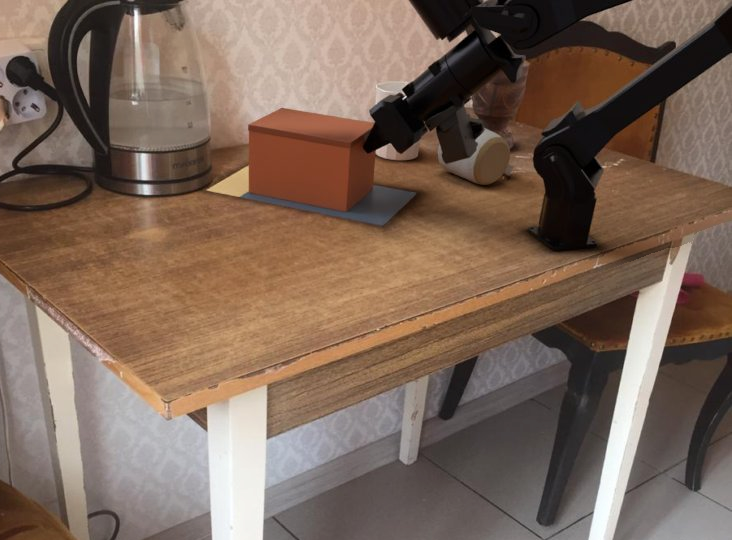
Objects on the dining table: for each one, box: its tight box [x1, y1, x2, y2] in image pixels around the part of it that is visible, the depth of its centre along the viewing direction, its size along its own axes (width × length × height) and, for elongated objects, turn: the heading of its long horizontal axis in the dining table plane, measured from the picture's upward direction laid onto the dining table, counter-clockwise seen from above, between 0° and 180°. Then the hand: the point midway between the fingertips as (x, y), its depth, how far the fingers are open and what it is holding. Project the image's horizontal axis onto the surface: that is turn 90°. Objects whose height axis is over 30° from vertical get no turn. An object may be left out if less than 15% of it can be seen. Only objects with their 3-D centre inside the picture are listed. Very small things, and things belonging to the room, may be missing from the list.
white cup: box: [374, 80, 421, 161], centre depth 131 cm, size 8×8×10 cm
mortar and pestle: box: [464, 25, 531, 150], centre depth 134 cm, size 12×9×20 cm
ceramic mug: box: [437, 128, 514, 186], centre depth 124 cm, size 11×8×8 cm
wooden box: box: [247, 107, 377, 212], centre depth 114 cm, size 14×10×9 cm
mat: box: [205, 164, 418, 227], centre depth 117 cm, size 25×14×1 cm, turn 68°
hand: (365, 150), depth 111 cm, fingers closed, pressing on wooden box
